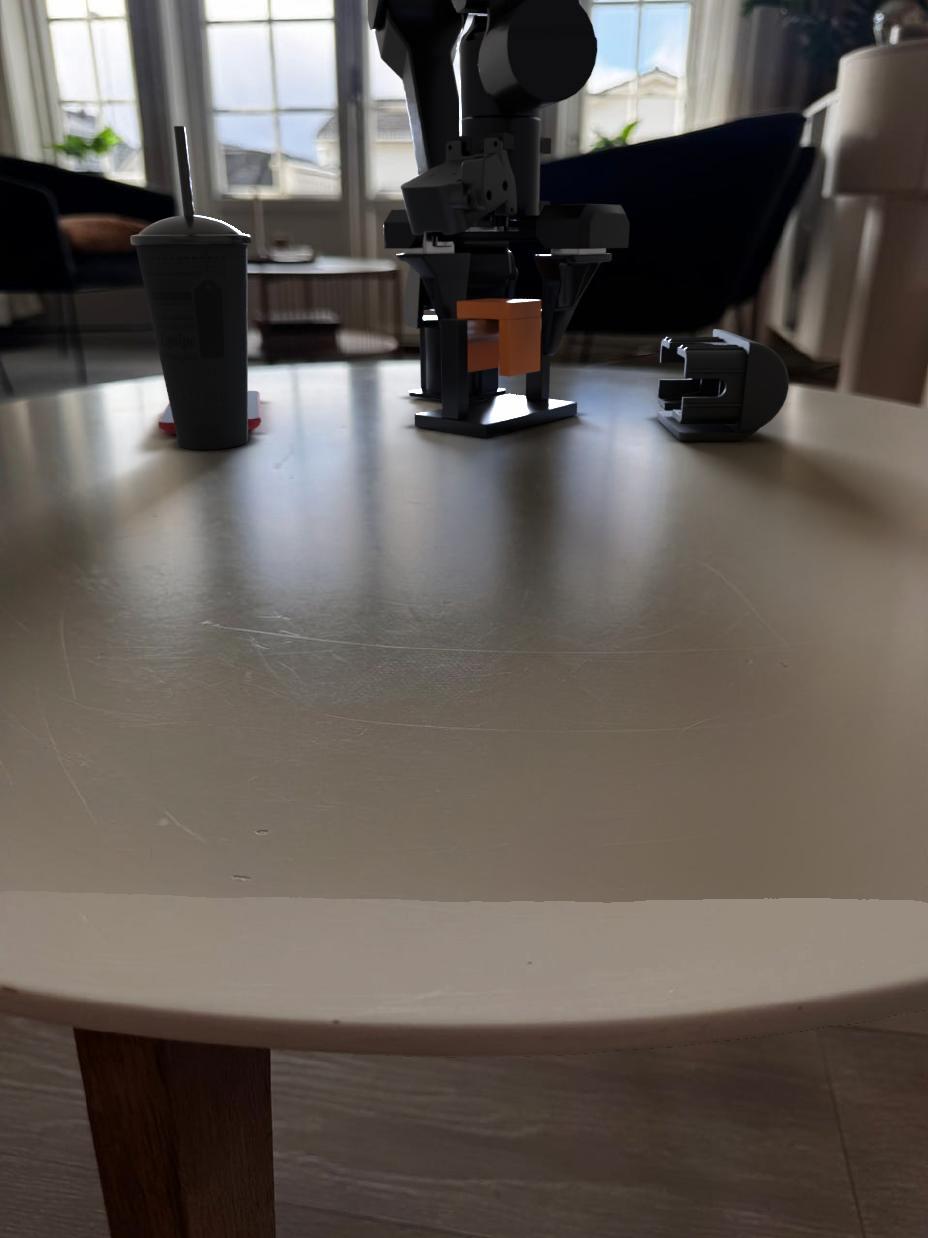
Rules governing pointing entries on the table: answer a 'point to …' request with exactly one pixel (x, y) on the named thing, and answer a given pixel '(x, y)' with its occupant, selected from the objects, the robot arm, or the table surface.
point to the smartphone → (253, 414)
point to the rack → (492, 412)
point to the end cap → (720, 387)
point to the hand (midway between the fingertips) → (498, 351)
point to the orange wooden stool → (505, 335)
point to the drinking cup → (199, 318)
